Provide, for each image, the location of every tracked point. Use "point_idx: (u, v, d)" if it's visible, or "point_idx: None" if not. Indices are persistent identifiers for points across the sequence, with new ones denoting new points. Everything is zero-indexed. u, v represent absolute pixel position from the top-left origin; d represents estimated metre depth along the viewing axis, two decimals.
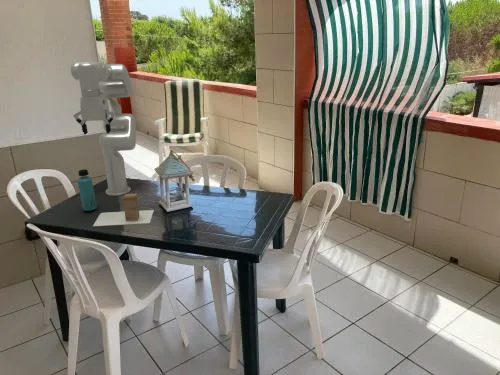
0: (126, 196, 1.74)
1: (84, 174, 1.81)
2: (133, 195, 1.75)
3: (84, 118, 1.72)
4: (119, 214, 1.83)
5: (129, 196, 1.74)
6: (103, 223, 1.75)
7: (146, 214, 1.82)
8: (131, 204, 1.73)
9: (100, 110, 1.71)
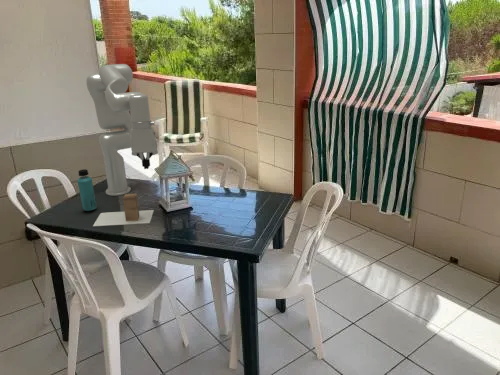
0: (126, 196, 1.74)
1: (84, 174, 1.81)
2: (133, 195, 1.75)
3: (134, 150, 1.66)
4: (119, 214, 1.83)
5: (129, 196, 1.74)
6: (103, 223, 1.75)
7: (146, 214, 1.82)
8: (131, 204, 1.73)
9: (151, 142, 1.66)
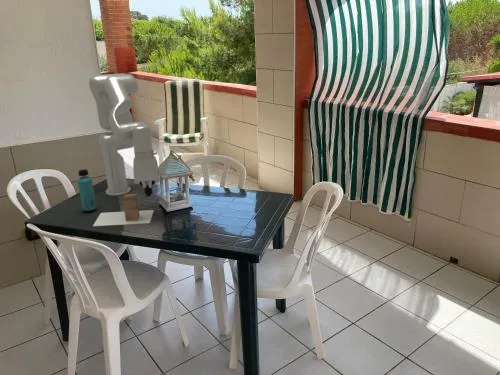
0: (126, 196, 1.74)
1: (84, 174, 1.81)
2: (133, 195, 1.75)
3: (137, 179, 1.70)
4: (119, 214, 1.83)
5: (129, 196, 1.74)
6: (103, 223, 1.75)
7: (146, 214, 1.82)
8: (131, 204, 1.73)
9: (153, 171, 1.69)
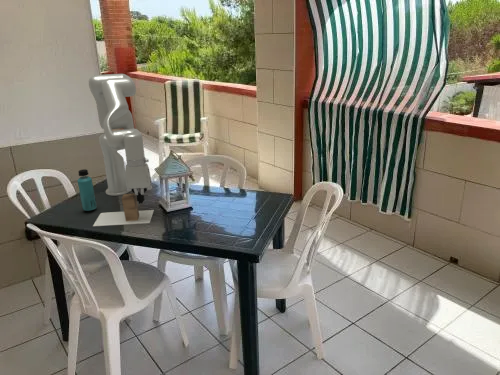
0: (125, 196, 1.74)
1: (84, 174, 1.81)
2: (132, 195, 1.75)
3: (129, 186, 1.71)
4: (119, 214, 1.83)
5: (128, 196, 1.74)
6: (103, 223, 1.75)
7: (146, 214, 1.82)
8: (130, 204, 1.73)
9: (145, 178, 1.70)
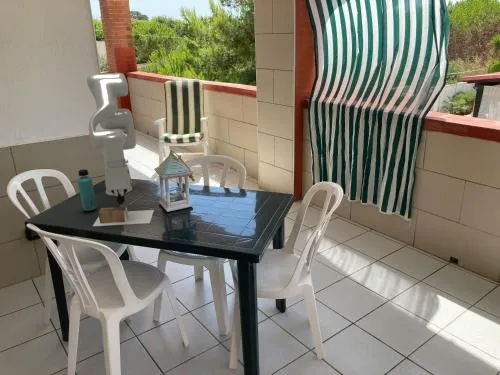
0: None
1: (84, 174, 1.81)
2: None
3: (108, 187, 1.70)
4: None
5: None
6: (103, 223, 1.75)
7: (146, 214, 1.82)
8: (105, 216, 1.74)
9: (125, 180, 1.70)
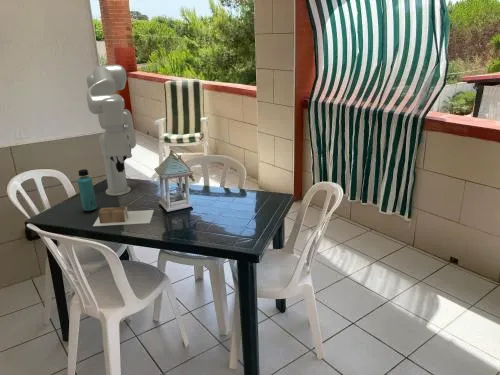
0: None
1: (84, 174, 1.81)
2: None
3: (108, 154, 1.66)
4: None
5: None
6: (103, 223, 1.75)
7: (146, 214, 1.82)
8: (105, 216, 1.74)
9: (124, 146, 1.65)
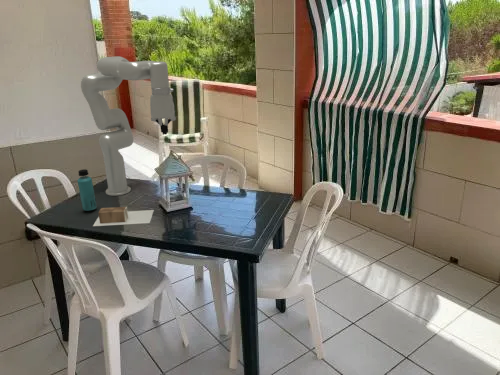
0: None
1: (84, 174, 1.81)
2: None
3: (153, 116, 1.74)
4: None
5: None
6: (103, 223, 1.75)
7: (146, 214, 1.82)
8: (105, 216, 1.74)
9: (169, 108, 1.74)
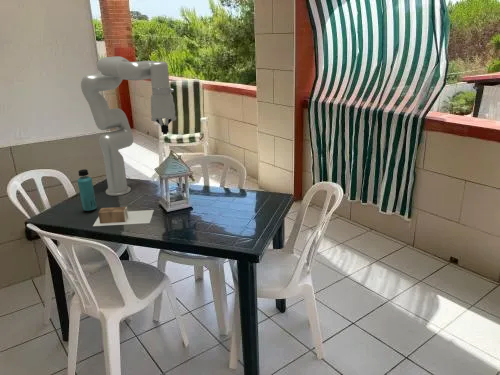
0: None
1: (84, 174, 1.81)
2: None
3: (154, 116, 1.74)
4: None
5: None
6: (103, 223, 1.75)
7: (146, 214, 1.82)
8: (105, 216, 1.74)
9: (170, 108, 1.74)
